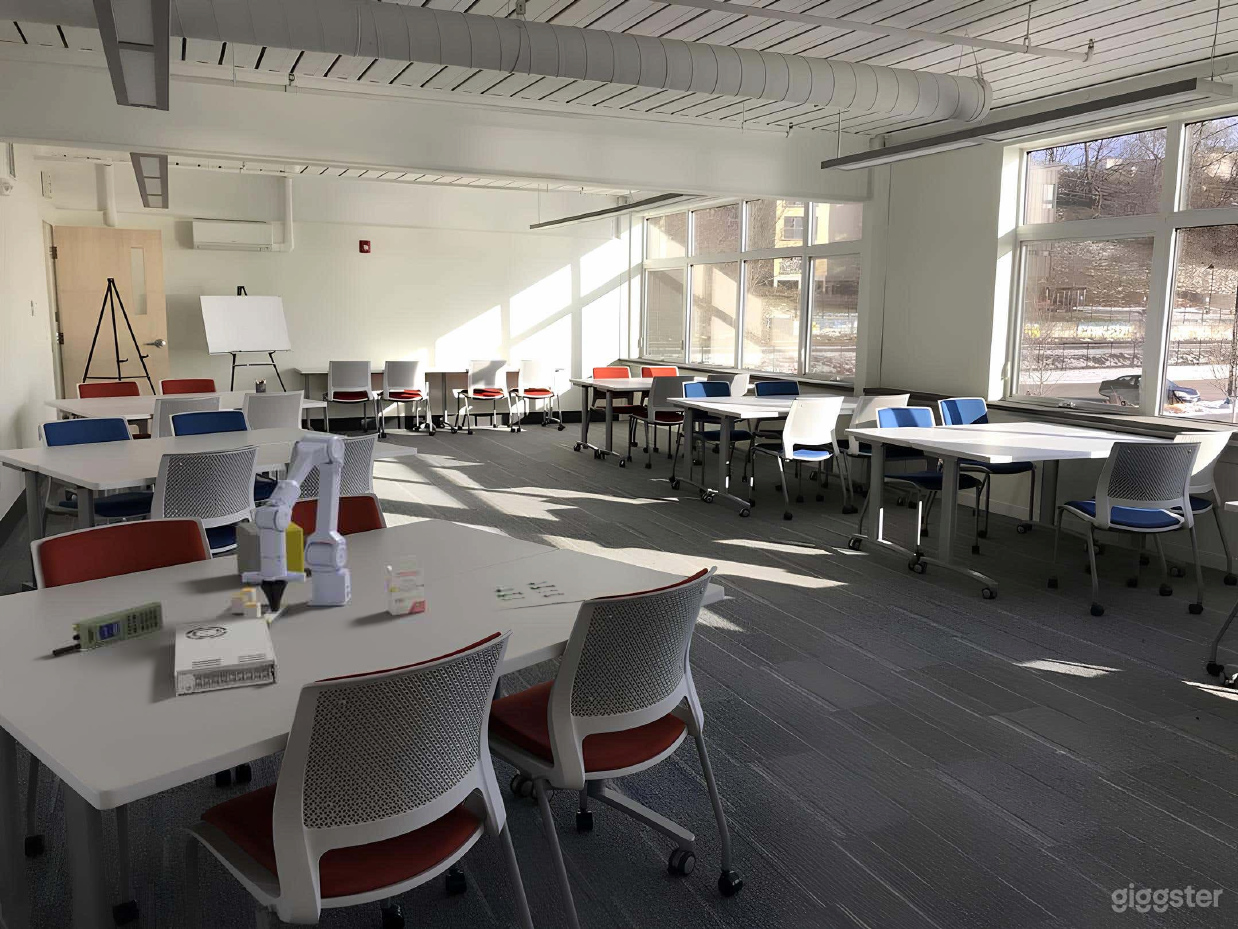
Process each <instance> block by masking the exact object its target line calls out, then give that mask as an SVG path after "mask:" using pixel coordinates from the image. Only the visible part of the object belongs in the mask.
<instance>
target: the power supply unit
mask: <svg viewBox="0 0 1238 929" xmlns="http://www.w3.org/2000/svg"><path fill="white" fill-rule="evenodd" d="M212 621H213V620H212ZM174 646H175V648H174V651H175V652H174V653H175V654H174V688H175V692H176V693H178V675H186V674H193V691H195V690H199V689H207V688H216V687H224V686H229V685H236V684H246V683H255V682H260V681H269V680H272V674H273V673H274V675H273V677H274V676H275V679H274V681H275V680H277V681H278V661H277V658H276V654H275V650H274V647H273V642H272V638H271V635H270V630H269V628H268V627H267V623H266V619H265V616H261V617H252V618H242V619H232V620H222V621H213V622H211V621H205V622H195V623H186V624H185V623H183V624H176V625H175V645H174ZM260 654H265V655H260ZM251 655H258V656H251ZM243 656H249V657H243ZM262 656H266V657H262ZM238 657H240V658H238ZM244 658H249V659H244ZM265 658H266V659H265ZM238 659H239V660H238ZM245 660H249V661H245ZM238 661H239V662H238ZM192 662H193V663H192ZM196 666H197V667H196ZM192 667H193V668H192ZM194 667H195V668H194ZM272 669H273V671H272ZM271 671H272V673H271ZM182 689H184V687H182ZM186 690H187V691H189V690H191V686H189V687H186Z"/></svg>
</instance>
